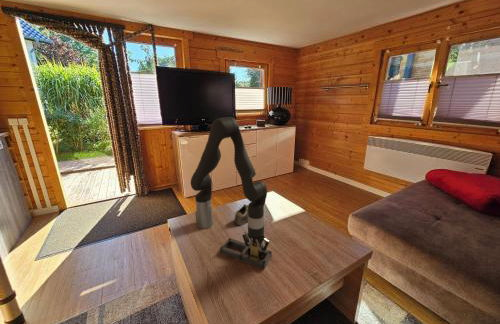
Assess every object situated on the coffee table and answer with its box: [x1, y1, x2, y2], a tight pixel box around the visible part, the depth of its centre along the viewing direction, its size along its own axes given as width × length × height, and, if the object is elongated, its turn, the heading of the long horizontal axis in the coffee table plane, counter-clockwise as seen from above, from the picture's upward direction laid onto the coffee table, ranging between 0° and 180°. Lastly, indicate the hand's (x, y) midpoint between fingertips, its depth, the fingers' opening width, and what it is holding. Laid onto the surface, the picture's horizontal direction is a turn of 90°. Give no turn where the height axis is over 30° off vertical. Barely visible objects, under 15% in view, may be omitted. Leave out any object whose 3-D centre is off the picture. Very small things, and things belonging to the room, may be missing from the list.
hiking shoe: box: [233, 204, 249, 226], centre depth 137 cm, size 9×21×12 cm, turn 135°
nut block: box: [250, 243, 261, 259], centre depth 101 cm, size 4×4×7 cm
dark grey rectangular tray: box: [219, 238, 273, 270], centre depth 105 cm, size 24×9×3 cm, turn 63°
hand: (256, 254), depth 102 cm, fingers closed on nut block, 4 cm apart
